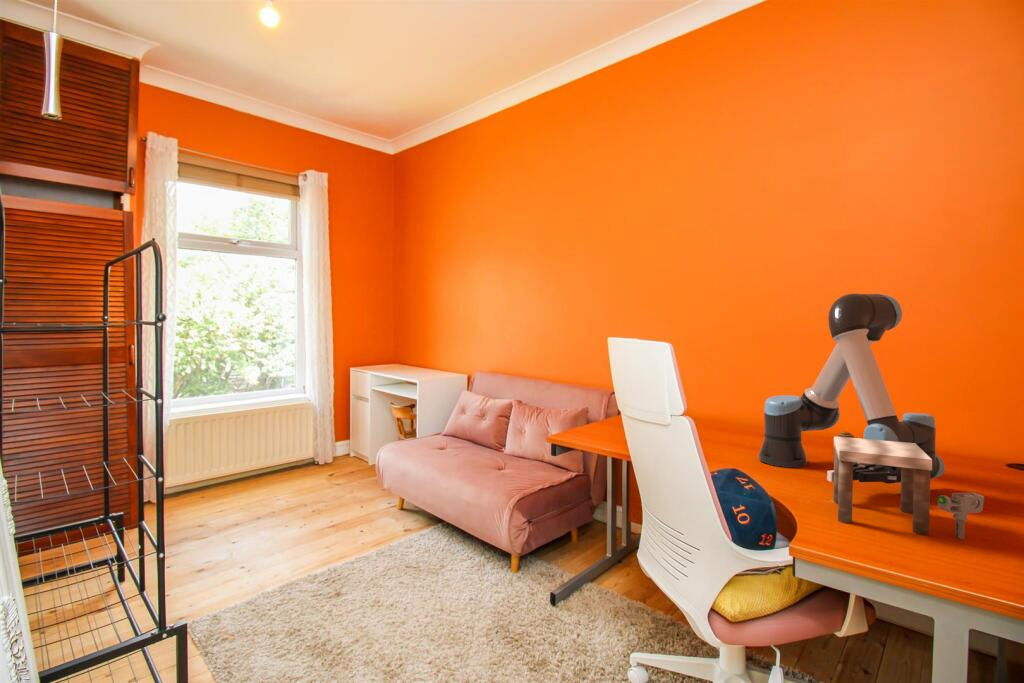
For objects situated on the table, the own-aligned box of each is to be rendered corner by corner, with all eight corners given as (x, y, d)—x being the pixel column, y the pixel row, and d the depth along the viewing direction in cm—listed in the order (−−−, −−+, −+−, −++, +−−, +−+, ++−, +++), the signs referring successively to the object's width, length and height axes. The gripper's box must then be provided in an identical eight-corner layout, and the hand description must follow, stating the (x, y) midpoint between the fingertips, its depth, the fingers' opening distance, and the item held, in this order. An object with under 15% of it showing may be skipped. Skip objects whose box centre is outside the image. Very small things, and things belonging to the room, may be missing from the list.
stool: (838, 522, 125) (839, 450, 125) (832, 499, 141) (833, 436, 140) (930, 536, 116) (932, 459, 116) (913, 511, 132) (915, 443, 132)
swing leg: (877, 504, 136) (878, 451, 135) (879, 508, 133) (880, 453, 133) (832, 498, 141) (833, 447, 140) (834, 502, 138) (834, 449, 137)
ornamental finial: (836, 449, 197) (859, 452, 192) (832, 452, 192) (855, 456, 187) (836, 429, 197) (859, 431, 192) (832, 432, 192) (855, 435, 186)
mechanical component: (933, 535, 117) (934, 493, 116) (973, 534, 118) (974, 491, 117) (945, 541, 114) (946, 497, 113) (986, 539, 115) (987, 496, 114)
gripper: (916, 489, 140) (850, 497, 134) (872, 475, 153) (809, 482, 146) (917, 462, 140) (850, 469, 134) (873, 451, 152) (810, 457, 146)
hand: (829, 476), depth 140 cm, fingers closed
